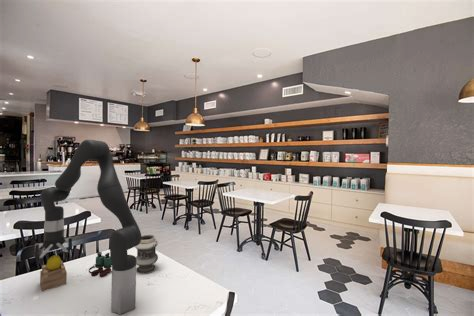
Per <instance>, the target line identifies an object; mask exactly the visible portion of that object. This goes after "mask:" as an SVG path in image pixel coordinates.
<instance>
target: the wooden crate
mask: <svg viewBox="0 0 474 316" xmlns="http://www.w3.org/2000/svg"><path fill="white" fill-rule="evenodd" d="M67 273H68V272H67V269H66V266H65V264H64V262H63V260H61V265H60V267H59V268H58V269H57V270H55V271H49V270H48V269H47V266H46V264H43V265H42V266H41V270H40V273H39V274H40V275H39V277H40V278H39V280H40V282H39V283H40V288H41V292H42V293H43V292H46V291H49V290H52V289H55V288H59V287H62V286H66V285H67V283H68V282H67V277H68V275H67Z"/></svg>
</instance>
